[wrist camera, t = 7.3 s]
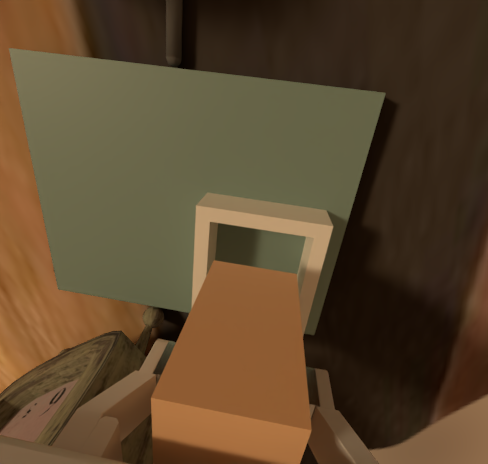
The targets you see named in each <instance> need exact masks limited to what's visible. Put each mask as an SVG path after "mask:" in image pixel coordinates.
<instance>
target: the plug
mask: <svg viewBox="0 0 488 464" xmlns="http://www.w3.org/2000/svg"><path fill="white" fill-rule="evenodd" d="M151 414H152V442H153V464H300V462H301V459H302V456H303V453H304V451H305V448H306V445H307V442H308V439H309V437H310V434H311V431H312V429H311V418H310V408H309V397H308V387H307V376H306V365H305V355H304V344H303V334H302V323H301V312H300V302H299V291H298V281H297V274H294V273H288V272H282V271H276V270H270V269H264V268H258V267H252V266H246V265H240V264H234V263H228V262H221V261H215V260H214V261H213V263H212V265H211V267H210V270H209V272H208V274H207V276H206V278H205V280H204V283H203V285H202V287H201V289H200V291H199V294H198V296H197V298H196V300H195V302H194V305H193V307H192V309H191V311H190V313H189V316H188V318H187V320H186V322H185V324H184V326H183V329H182V331H181V333H180V335H179V337H178V340H177V342H176V344H175V346H174V348H173V351H172V353H171V355H170V357H169V359H168V362H167V364H166V366H165V368H164V370H163V373H162V375H161V377H160V379H159V381H158V383H157V386H156V388H155V390H154V392H153V394H152V397H151Z"/></svg>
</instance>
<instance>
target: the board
mask: <svg viewBox="0 0 488 464" xmlns="http://www.w3.org/2000/svg"><path fill="white" fill-rule="evenodd" d="M9 51H10V56H11V61H12V66H13V71H14V76H15V81H16V86H17V91H18V95H19V100H20V105H21V110H22V115H23V120H24V125H25V130H26V135H27V139H28V144H29V149H30V154H31V159H32V164H33V169H34V174H35V179H36V184H37V188H38V193H39V198H40V203H41V208H42V213H43V218H44V223H45V228H46V232H47V237H48V242H49V247H50V252H51V257H52V262H53V267H54V272H55V276H56V281H57V286H58V289H59V290H65V291H71V292H76V293H82V294H87V295H93V296H98V297H104V298H110V299H115V300H121V301H126V302H132V303H137V304H143V305H149V306H154V307H160V308H165V309H171V310H176V311H182V312H187V313H190V311H191V308H192V286H193V263H194V240H195V218H196V205H197V204H198V203H199V202H200V200H201V199H202V198H203V197H204V196H205V195H206V194H207V193H214V194H221V195H228V196H234V197H241V198H248V199H254V200H261V201H268V202H275V203H281V204H288V205H295V206H301V207H308V208H315V209H321V210H326V211H327V213H328V215H329V218H330V220H331V222H332V224H333V230H332V233H331V237H330V241H329V244H328V248H327V252H326V255H325V259H324V262H323V266H322V270H321V273H320V277H319V281H318V284H317V288H316V292H315V295H314V299H313V303H312V306H311V310H310V314H309V317H308V321H307V325H306V328H305V332H304V334H310V335H314V334H315V331H316V328H317V324H318V321H319V318H320V314H321V311H322V307H323V304H324V301H325V297H326V294H327V290H328V287H329V284H330V280H331V277H332V273H333V270H334V267H335V263H336V260H337V256H338V253H339V250H340V246H341V243H342V240H343V236H344V233H345V229H346V226H347V223H348V219H349V216H350V212H351V209H352V206H353V202H354V199H355V195H356V192H357V189H358V185H359V182H360V178H361V175H362V172H363V168H364V165H365V162H366V158H367V155H368V151H369V148H370V145H371V141H372V138H373V134H374V131H375V128H376V124H377V121H378V117H379V114H380V111H381V107H382V104H383V100H384V97H385V94H386V93H381V92H373V91H364V90H356V89H347V88H339V87H331V86H322V85H314V84H306V83H297V82H289V81H280V80H272V79H264V78H255V77H247V76H238V75H230V74H222V73H213V72H205V71H197V70H188V69H180V68H171V67H163V66H155V65H146V64H138V63H129V62H121V61H113V60H104V59H96V58H88V57H79V56H71V55H62V54H54V53H46V52H37V51H29V50H20V49H12V48H9ZM305 239H306V237H305V236H299V235H292V234H286V233H279V232H273V231H267V230H260V229H254V228H247V227H241V226H235V225H228V224H222V223H218V230H217V243H216V255H215V261H221V262H228V263H234V264H240V265H246V266H252V267H258V268H264V269H270V270H276V271H282V272H288V273H294V274H298V269H299V265H300V261H301V256H302V252H303V248H304V244H305Z"/></svg>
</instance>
